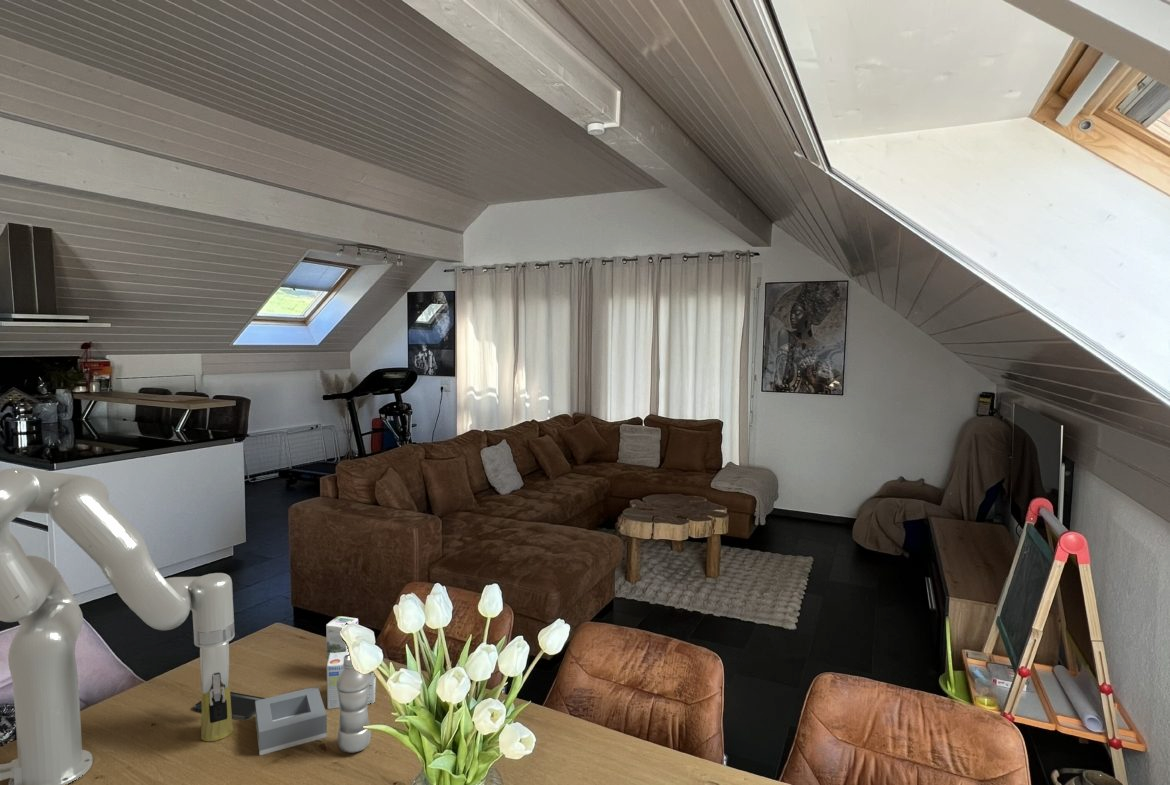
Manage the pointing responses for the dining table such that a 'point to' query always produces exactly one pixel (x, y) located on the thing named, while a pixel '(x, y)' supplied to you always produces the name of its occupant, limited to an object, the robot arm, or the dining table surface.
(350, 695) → the plastic bottle
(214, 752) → the dining table surface
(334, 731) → the dining table surface
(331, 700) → the light bulb box
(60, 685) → the robot arm
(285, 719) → the socket block
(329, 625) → the syrup box
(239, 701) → the phone
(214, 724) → the vase
